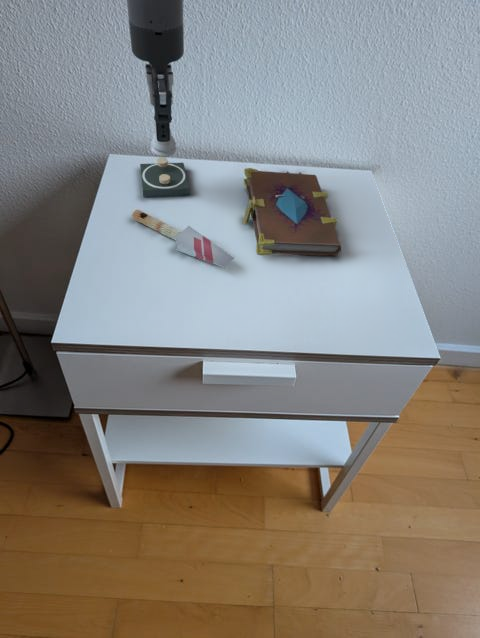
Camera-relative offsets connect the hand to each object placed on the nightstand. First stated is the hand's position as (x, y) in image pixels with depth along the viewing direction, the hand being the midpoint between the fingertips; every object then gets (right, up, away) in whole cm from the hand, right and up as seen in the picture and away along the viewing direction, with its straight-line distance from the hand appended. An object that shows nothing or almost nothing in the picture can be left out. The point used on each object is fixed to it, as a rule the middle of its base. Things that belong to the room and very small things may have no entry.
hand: (162, 134), depth 73 cm
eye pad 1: (-2, -2, +9) cm, 9 cm away
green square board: (-1, -5, +9) cm, 11 cm away
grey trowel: (+3, -19, 0) cm, 19 cm away
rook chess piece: (0, -2, +3) cm, 3 cm away
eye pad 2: (-1, -6, +7) cm, 9 cm away
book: (+21, -12, +7) cm, 25 cm away
